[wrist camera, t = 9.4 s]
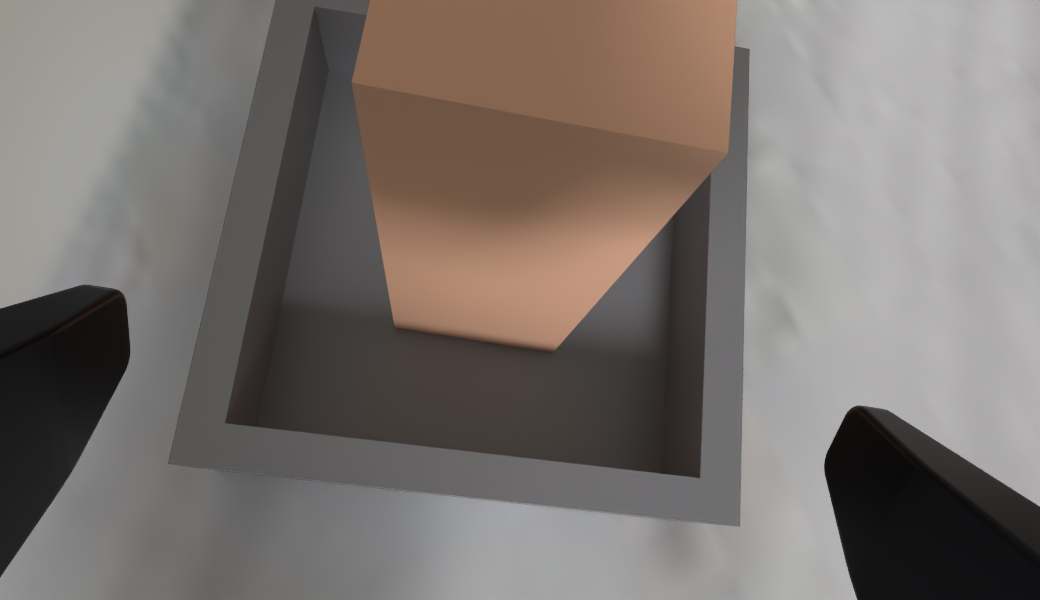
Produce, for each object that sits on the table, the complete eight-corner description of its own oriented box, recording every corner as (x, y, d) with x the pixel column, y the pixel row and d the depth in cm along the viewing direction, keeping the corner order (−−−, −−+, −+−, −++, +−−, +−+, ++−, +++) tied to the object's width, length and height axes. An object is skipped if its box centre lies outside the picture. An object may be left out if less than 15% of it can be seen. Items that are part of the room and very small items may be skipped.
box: (684, 521, 21) (739, 526, 17) (215, 470, 19) (167, 463, 16) (700, 116, 24) (749, 49, 21) (305, 52, 23) (283, -32, 19)
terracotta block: (552, 352, 21) (727, 152, 9) (394, 327, 20) (350, 82, 8) (570, 207, 22) (746, -142, 10) (422, 181, 22) (419, -214, 10)
